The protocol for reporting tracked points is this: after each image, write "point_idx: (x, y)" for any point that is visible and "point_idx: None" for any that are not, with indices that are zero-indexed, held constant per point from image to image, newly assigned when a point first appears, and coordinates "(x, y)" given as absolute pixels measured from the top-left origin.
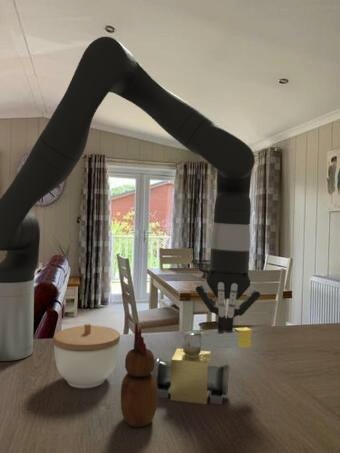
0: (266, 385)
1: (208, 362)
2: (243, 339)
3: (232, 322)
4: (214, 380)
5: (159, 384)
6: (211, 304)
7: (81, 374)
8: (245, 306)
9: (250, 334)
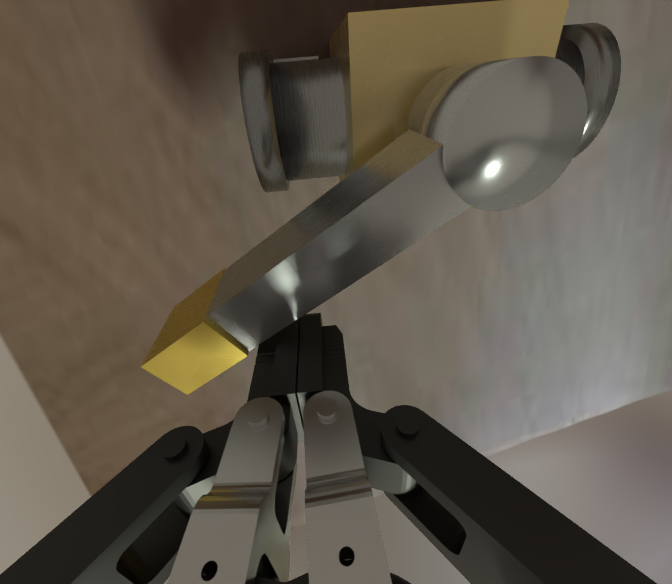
0: (177, 264)
1: (348, 79)
2: (194, 306)
3: (254, 383)
4: (307, 62)
5: None
6: (434, 473)
7: None
8: (102, 521)
9: (156, 344)
